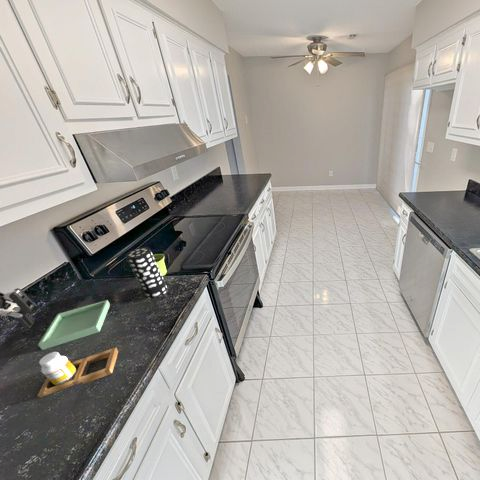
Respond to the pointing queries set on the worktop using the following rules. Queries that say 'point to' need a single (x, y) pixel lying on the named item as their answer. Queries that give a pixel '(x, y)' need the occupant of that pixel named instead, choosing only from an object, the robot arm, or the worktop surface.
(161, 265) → the plant pot
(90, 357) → the bottle rack
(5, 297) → the robot arm
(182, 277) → the worktop surface
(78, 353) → the worktop surface
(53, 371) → the supplement bottle
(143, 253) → the white-spotted black cylinder
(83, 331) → the tray
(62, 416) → the worktop surface
